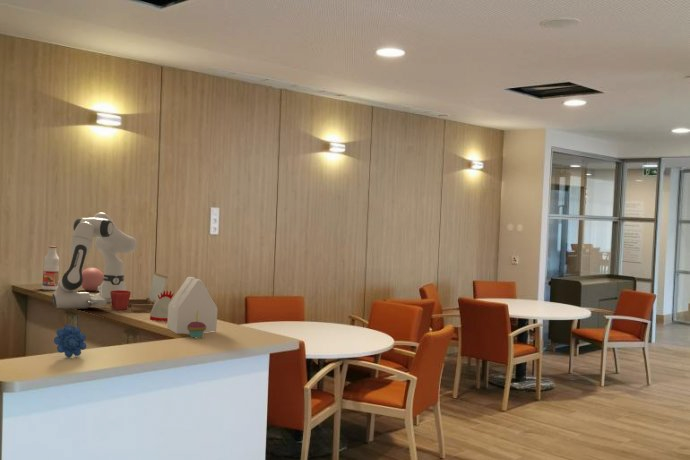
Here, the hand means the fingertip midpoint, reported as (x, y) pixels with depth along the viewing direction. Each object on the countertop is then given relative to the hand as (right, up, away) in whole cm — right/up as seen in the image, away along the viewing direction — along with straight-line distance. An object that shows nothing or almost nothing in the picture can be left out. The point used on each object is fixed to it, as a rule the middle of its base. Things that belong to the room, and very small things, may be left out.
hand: (111, 300), depth 374 cm
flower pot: (+4, -5, +3) cm, 7 cm away
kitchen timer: (+35, -8, -21) cm, 42 cm away
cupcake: (+61, -10, -66) cm, 91 cm away
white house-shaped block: (+55, -10, -49) cm, 74 cm away
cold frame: (+14, -6, +8) cm, 17 cm away
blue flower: (+28, -9, -124) cm, 127 cm away
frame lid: (+22, +6, +12) cm, 26 cm away
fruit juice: (-62, 0, +66) cm, 90 cm away
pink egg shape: (-36, -2, +73) cm, 81 cm away
